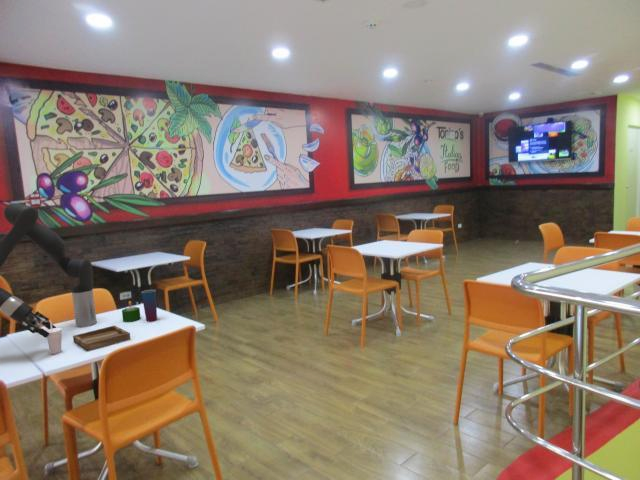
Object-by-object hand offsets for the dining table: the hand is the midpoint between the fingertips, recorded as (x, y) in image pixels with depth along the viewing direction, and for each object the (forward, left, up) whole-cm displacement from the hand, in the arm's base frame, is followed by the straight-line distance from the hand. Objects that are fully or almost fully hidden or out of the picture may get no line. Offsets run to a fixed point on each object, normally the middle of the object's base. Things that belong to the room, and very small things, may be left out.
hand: (51, 332), depth 188 cm
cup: (-11, +47, -9) cm, 49 cm away
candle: (-21, +41, -9) cm, 46 cm away
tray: (+1, +19, -9) cm, 21 cm away
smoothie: (0, +1, -9) cm, 9 cm away
